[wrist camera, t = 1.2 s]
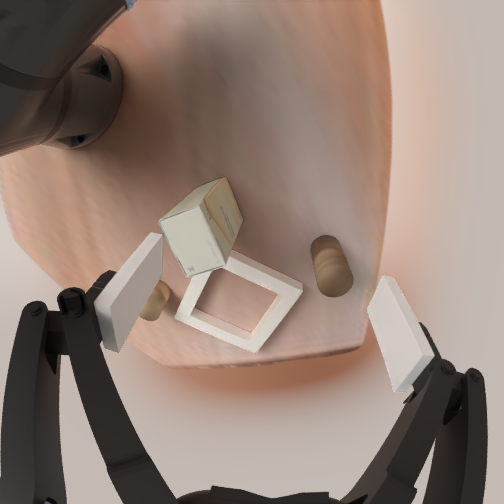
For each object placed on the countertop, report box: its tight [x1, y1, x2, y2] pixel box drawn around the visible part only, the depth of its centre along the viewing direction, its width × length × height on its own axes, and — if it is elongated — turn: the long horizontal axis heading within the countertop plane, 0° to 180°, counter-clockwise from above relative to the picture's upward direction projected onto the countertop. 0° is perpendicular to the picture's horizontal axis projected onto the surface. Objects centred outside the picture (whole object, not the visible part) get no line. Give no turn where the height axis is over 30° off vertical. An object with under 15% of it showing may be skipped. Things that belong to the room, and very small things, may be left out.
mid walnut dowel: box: [311, 235, 353, 297], centre depth 34 cm, size 4×4×8 cm
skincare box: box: [158, 177, 243, 278], centre depth 30 cm, size 6×4×12 cm
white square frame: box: [174, 250, 303, 353], centre depth 41 cm, size 14×14×2 cm
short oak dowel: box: [139, 280, 170, 321], centre depth 41 cm, size 4×4×5 cm
